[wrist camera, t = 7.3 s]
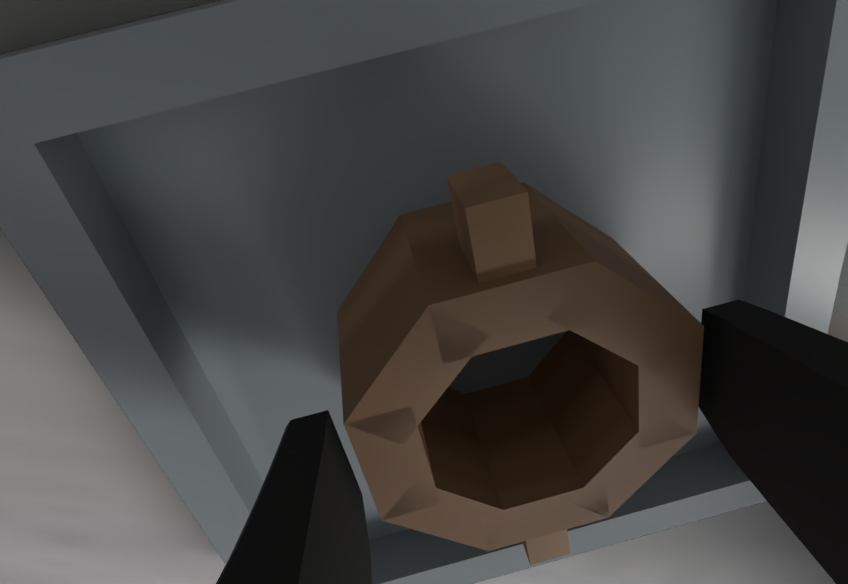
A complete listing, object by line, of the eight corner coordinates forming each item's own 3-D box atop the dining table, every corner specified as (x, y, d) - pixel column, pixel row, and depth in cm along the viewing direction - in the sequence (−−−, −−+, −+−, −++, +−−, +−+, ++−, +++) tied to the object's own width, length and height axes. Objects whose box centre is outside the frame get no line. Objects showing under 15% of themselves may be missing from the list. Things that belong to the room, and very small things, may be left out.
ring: (608, 97, 9) (716, 150, 7) (618, 421, 13) (689, 530, 11) (290, 178, 9) (279, 263, 7) (396, 482, 13) (416, 607, 11)
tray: (745, 440, 16) (792, 494, 14) (280, 569, 15) (275, 639, 14) (828, -149, 9) (936, -172, 7) (-22, 59, 8) (-98, 82, 7)
